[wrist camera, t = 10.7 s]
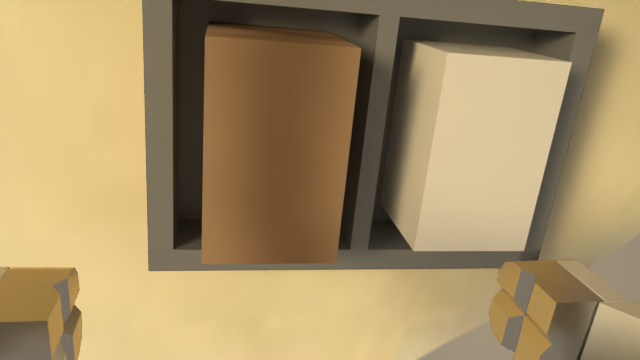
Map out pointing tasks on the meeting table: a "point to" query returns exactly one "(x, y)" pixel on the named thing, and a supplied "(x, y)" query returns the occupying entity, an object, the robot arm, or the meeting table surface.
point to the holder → (368, 120)
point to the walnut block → (275, 143)
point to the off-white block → (469, 143)
